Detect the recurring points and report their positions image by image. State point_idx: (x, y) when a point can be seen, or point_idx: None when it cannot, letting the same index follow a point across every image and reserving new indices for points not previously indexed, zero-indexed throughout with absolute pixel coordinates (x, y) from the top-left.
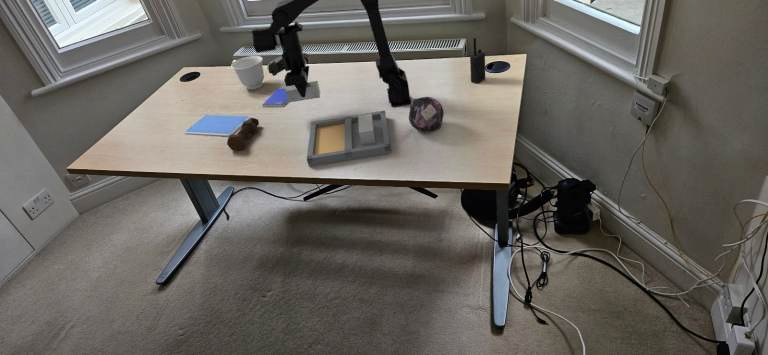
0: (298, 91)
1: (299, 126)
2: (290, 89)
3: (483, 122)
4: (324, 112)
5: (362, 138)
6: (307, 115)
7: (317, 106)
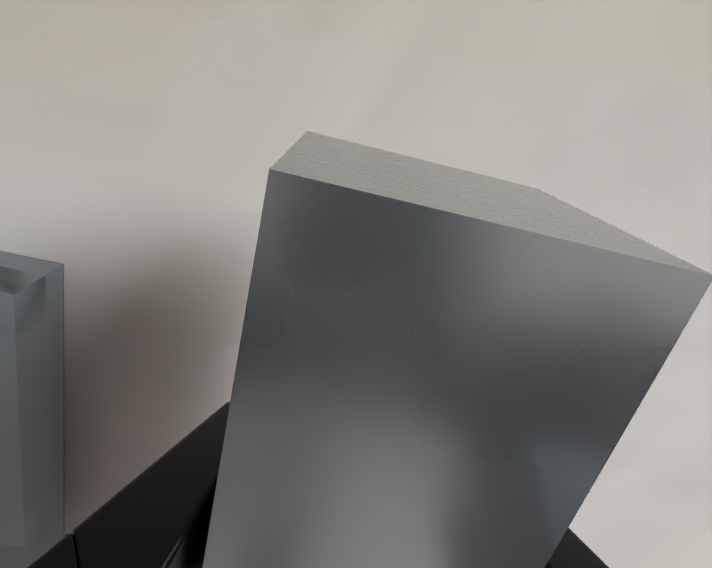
0: (125, 491)
1: (184, 150)
2: (302, 350)
3: None
4: None
5: None
6: None
7: None
